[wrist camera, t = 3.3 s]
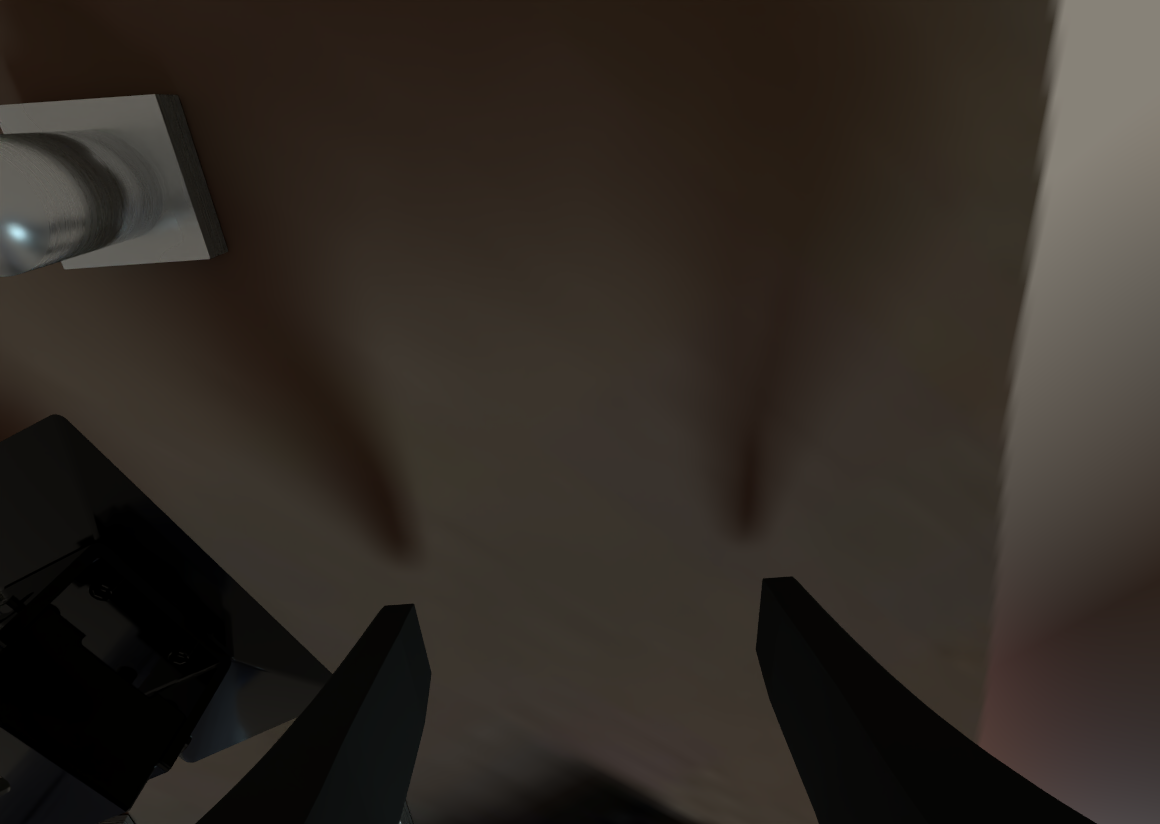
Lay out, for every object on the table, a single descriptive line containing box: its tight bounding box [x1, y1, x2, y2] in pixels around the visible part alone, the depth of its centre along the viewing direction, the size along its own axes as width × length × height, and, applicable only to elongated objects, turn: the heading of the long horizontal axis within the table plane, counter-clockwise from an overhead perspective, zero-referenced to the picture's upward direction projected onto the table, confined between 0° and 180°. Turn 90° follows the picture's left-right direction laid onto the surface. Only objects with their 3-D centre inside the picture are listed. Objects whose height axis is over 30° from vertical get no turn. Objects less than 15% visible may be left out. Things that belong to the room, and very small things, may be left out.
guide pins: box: [0, 94, 413, 824], centre depth 13 cm, size 20×10×3 cm, turn 4°
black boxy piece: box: [0, 415, 333, 824], centre depth 13 cm, size 12×7×5 cm, turn 27°
